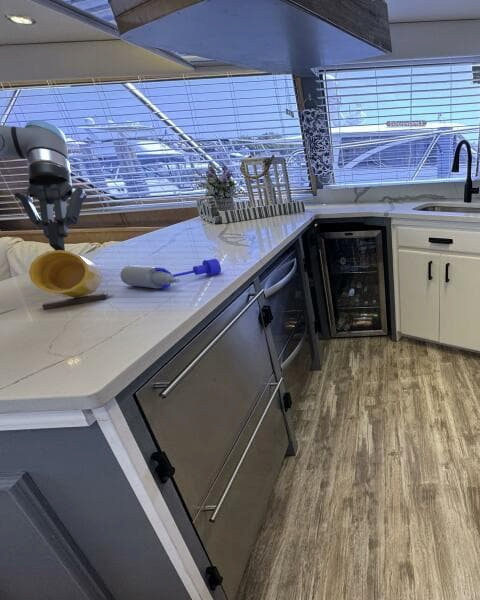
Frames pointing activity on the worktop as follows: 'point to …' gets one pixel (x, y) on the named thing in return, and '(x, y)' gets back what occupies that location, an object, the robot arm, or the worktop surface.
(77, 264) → the bowl
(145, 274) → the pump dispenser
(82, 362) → the worktop surface
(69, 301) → the stop bar
